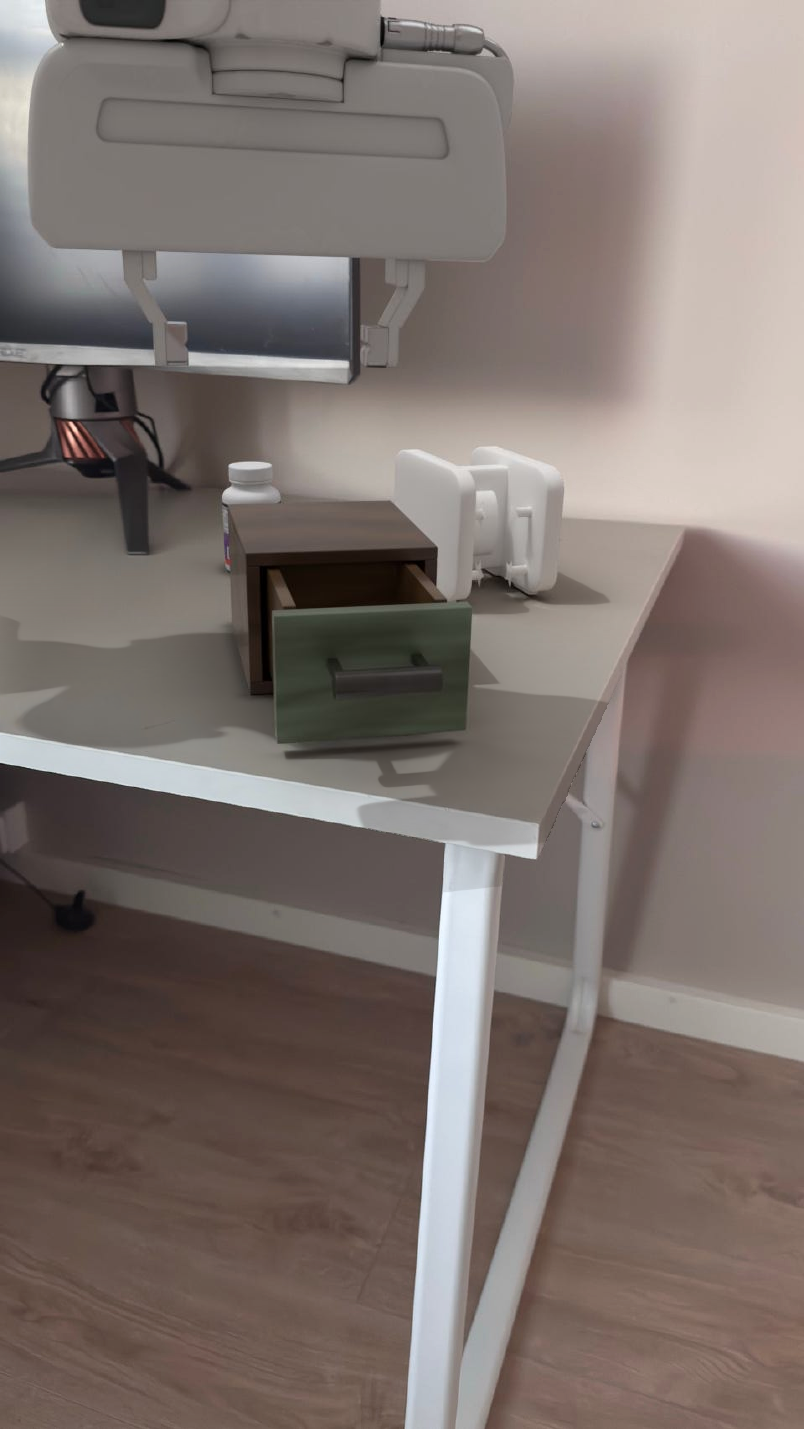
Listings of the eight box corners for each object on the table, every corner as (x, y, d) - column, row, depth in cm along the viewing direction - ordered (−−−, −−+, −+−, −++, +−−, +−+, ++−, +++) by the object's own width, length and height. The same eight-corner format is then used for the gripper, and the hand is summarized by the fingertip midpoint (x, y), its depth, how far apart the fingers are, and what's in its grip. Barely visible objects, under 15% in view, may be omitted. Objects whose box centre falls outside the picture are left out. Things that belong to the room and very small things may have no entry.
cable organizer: (386, 568, 103) (389, 444, 98) (485, 559, 107) (492, 440, 102) (452, 613, 90) (459, 474, 86) (562, 602, 94) (574, 468, 89)
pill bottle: (275, 559, 105) (273, 458, 101) (288, 574, 100) (286, 469, 96) (220, 563, 103) (215, 460, 99) (230, 578, 98) (226, 471, 94)
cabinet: (433, 683, 75) (438, 546, 72) (250, 694, 73) (245, 553, 69) (388, 618, 89) (390, 500, 85) (232, 626, 86) (227, 504, 82)
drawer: (487, 760, 62) (495, 630, 59) (286, 776, 59) (283, 641, 56) (414, 655, 78) (417, 548, 75) (253, 664, 75) (250, 554, 72)
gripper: (494, 41, 48) (476, 361, 54) (18, 3, 44) (51, 356, 50) (541, 14, 43) (516, 375, 48) (1, -32, 38) (40, 371, 44)
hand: (277, 366), depth 49 cm, fingers open, 8 cm apart
